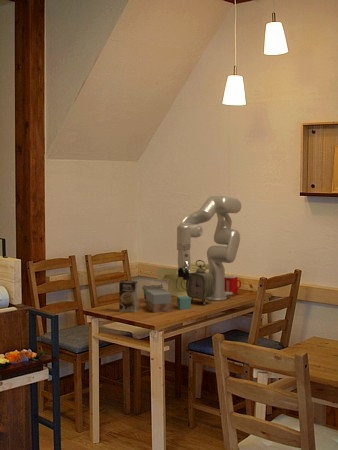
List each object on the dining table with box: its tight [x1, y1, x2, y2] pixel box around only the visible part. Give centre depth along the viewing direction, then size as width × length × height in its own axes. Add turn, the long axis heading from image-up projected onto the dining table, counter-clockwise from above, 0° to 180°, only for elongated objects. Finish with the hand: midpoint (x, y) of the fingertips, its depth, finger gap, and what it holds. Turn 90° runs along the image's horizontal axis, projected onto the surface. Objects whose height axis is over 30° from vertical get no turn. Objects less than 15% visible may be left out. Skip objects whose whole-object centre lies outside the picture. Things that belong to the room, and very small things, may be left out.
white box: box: [146, 288, 172, 304], centre depth 362 cm, size 10×16×5 cm, turn 16°
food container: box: [141, 283, 164, 304], centre depth 381 cm, size 12×6×10 cm, turn 112°
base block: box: [146, 300, 173, 314], centre depth 363 cm, size 10×16×5 cm, turn 16°
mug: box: [225, 275, 242, 296], centre depth 405 cm, size 12×8×11 cm
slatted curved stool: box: [156, 262, 209, 298], centre depth 404 cm, size 30×16×18 cm, turn 136°
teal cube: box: [176, 296, 192, 310], centre depth 365 cm, size 6×6×6 cm
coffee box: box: [118, 280, 138, 313], centre depth 358 cm, size 9×6×16 cm
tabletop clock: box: [185, 259, 214, 306], centre depth 378 cm, size 14×9×25 cm, turn 45°
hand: (183, 278), depth 364 cm, fingers open, 9 cm apart
